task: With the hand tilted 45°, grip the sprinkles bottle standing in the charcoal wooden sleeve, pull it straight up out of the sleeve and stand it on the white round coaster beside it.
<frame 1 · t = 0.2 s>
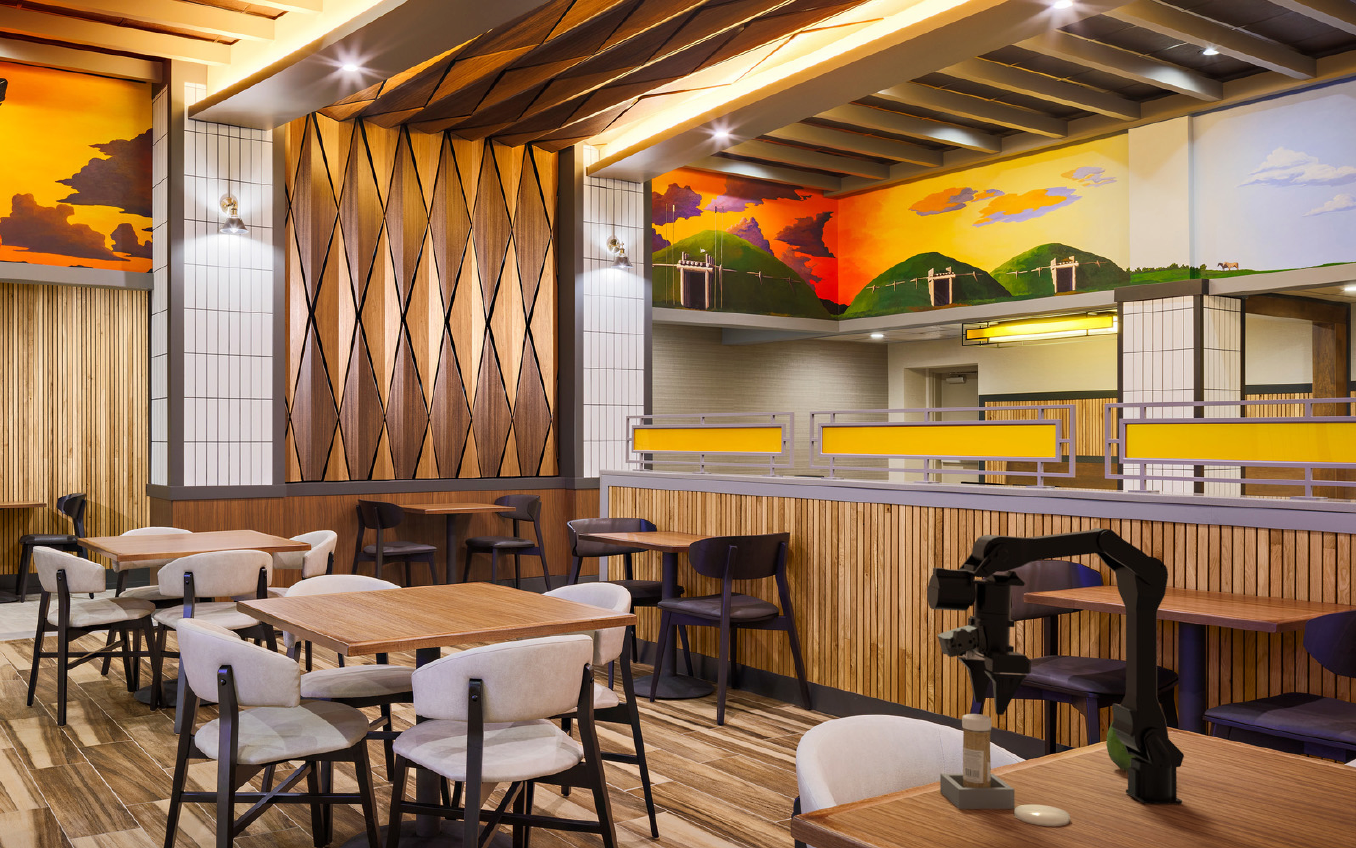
hand: (988, 708, 172), 15 cm above the table, tool pointing down, fingers open, 9 cm apart
sleeve: (976, 800, 170), on the table
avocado: (1130, 772, 190), on the table
white round coaster: (1041, 817, 162), on the table
sprinkles bottle: (976, 801, 170), resting in sleeve
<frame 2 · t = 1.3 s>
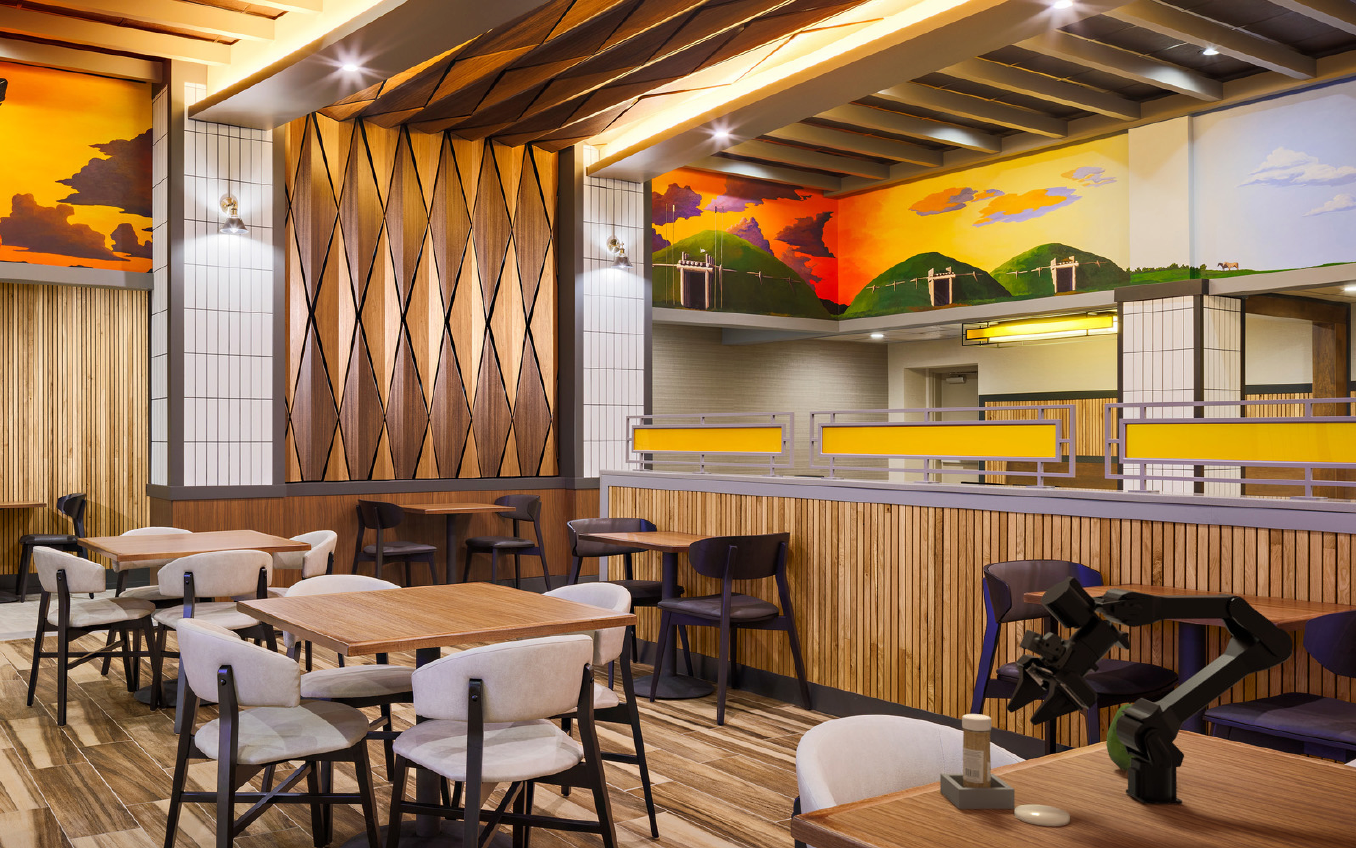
hand: (1019, 716, 172), 13 cm above the table, tool tilted 45°, fingers open, 9 cm apart
nothing on the table moved.
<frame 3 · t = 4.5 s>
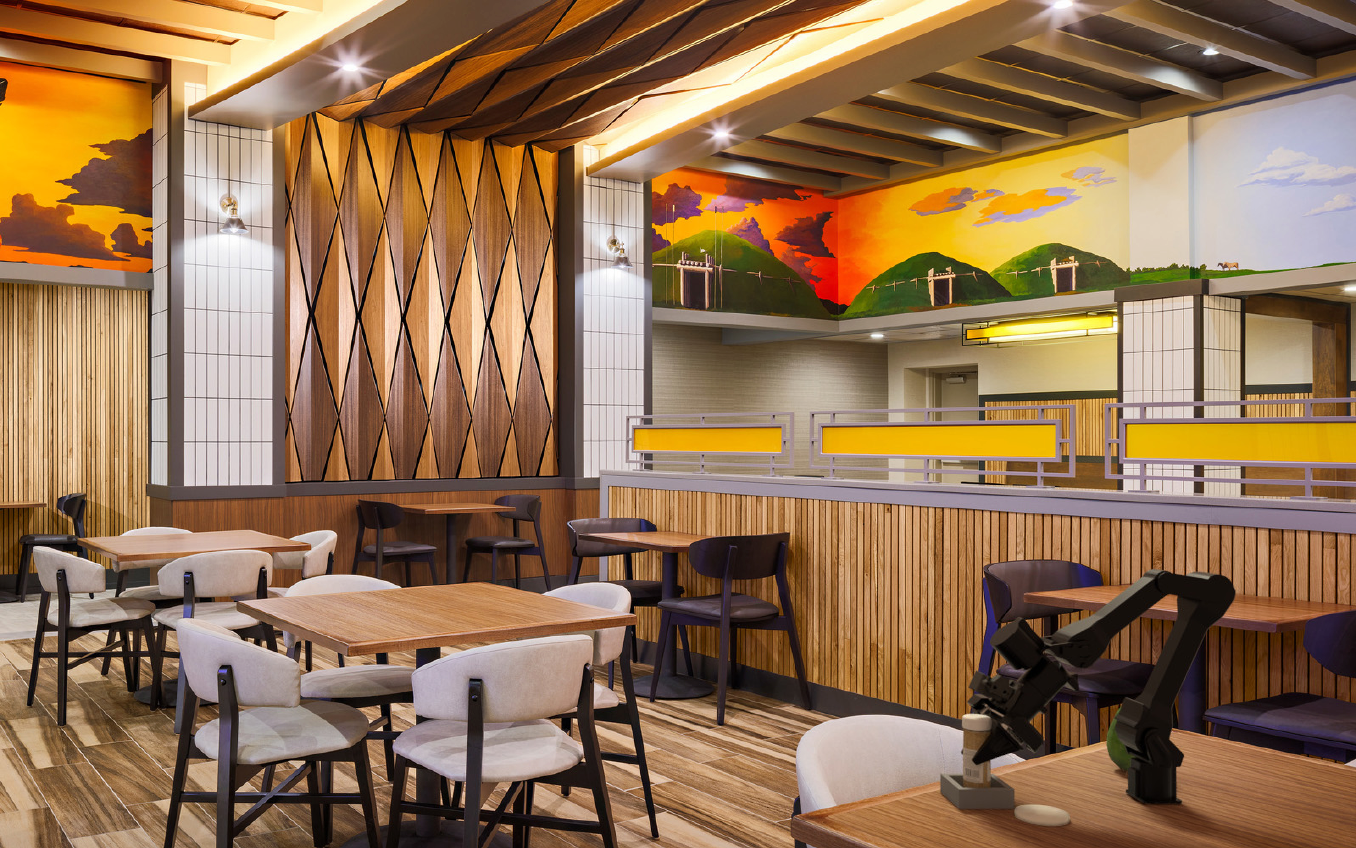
hand: (968, 759, 170), 7 cm above the table, tool tilted 45°, fingers closed on sprinkles bottle, 4 cm apart
sprinkles bottle: (976, 801, 170), resting in sleeve, touching gripper
everything else where it was.
when the fingers open (8 cm above the table, at t = 8.7 s): sprinkles bottle stays where it is, resting on white round coaster.
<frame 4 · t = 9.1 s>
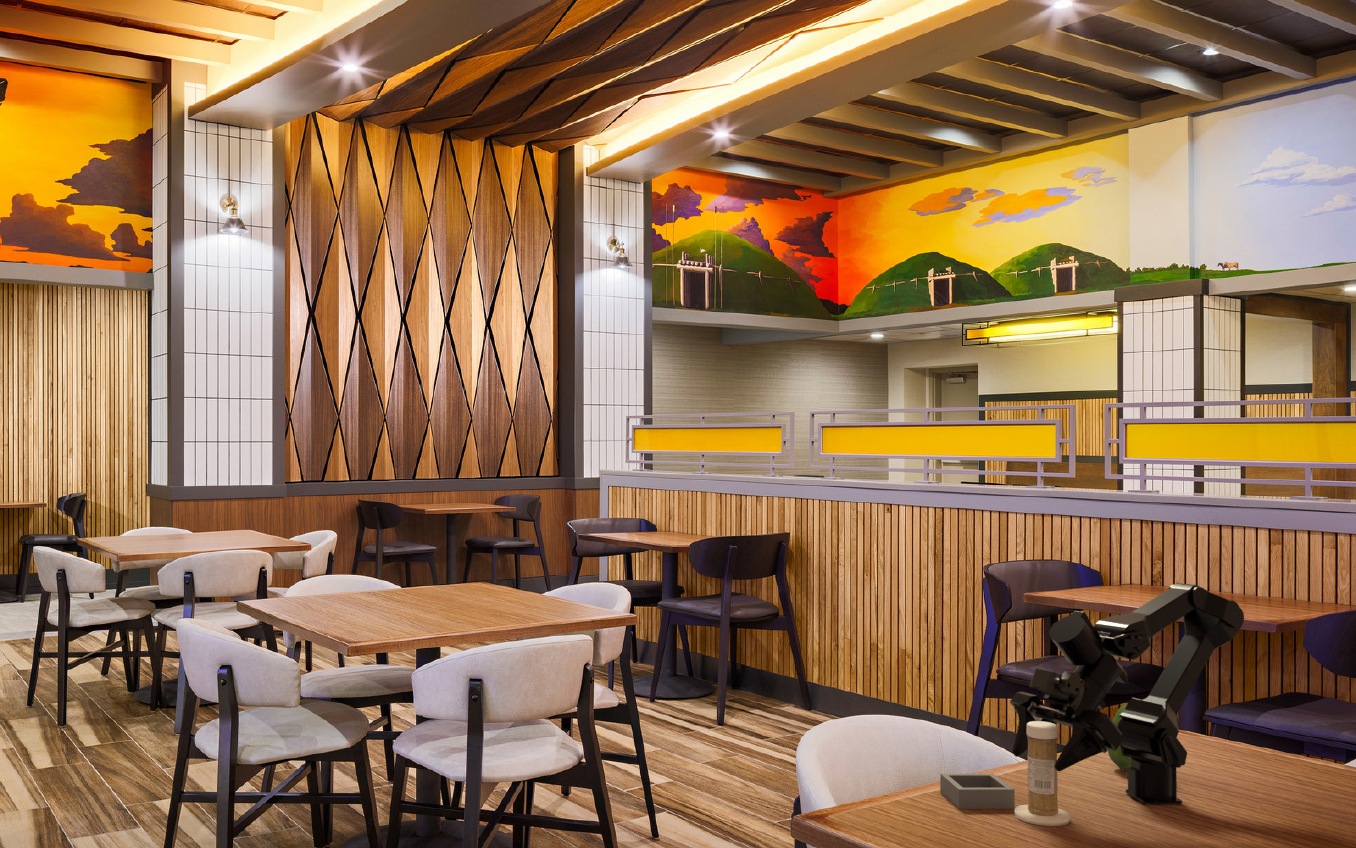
hand: (1034, 762, 162), 9 cm above the table, tool tilted 45°, fingers open, 9 cm apart
sprinkles bottle: (1042, 813, 162), point 1 cm above the table, touching white round coaster
everything else where it was.
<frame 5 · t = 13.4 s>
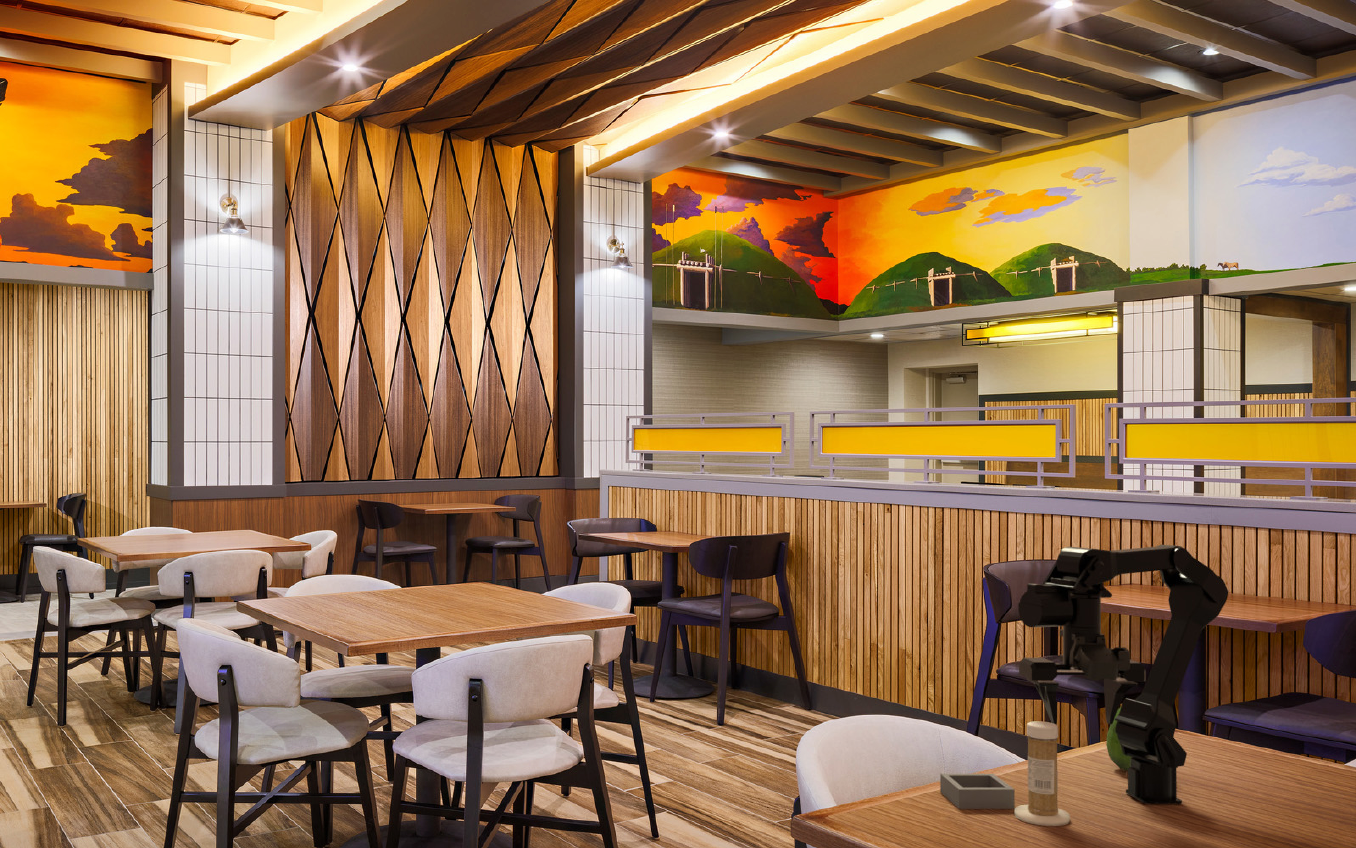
hand: (1081, 724, 169), 13 cm above the table, tool pointing down, fingers open, 9 cm apart
nothing on the table moved.
at the end: sprinkles bottle 0.2 cm off-centre on the white round coaster, point 0.6 cm above the white round coaster's base; sprinkles bottle tilted 0°; the gripper is holding nothing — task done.
